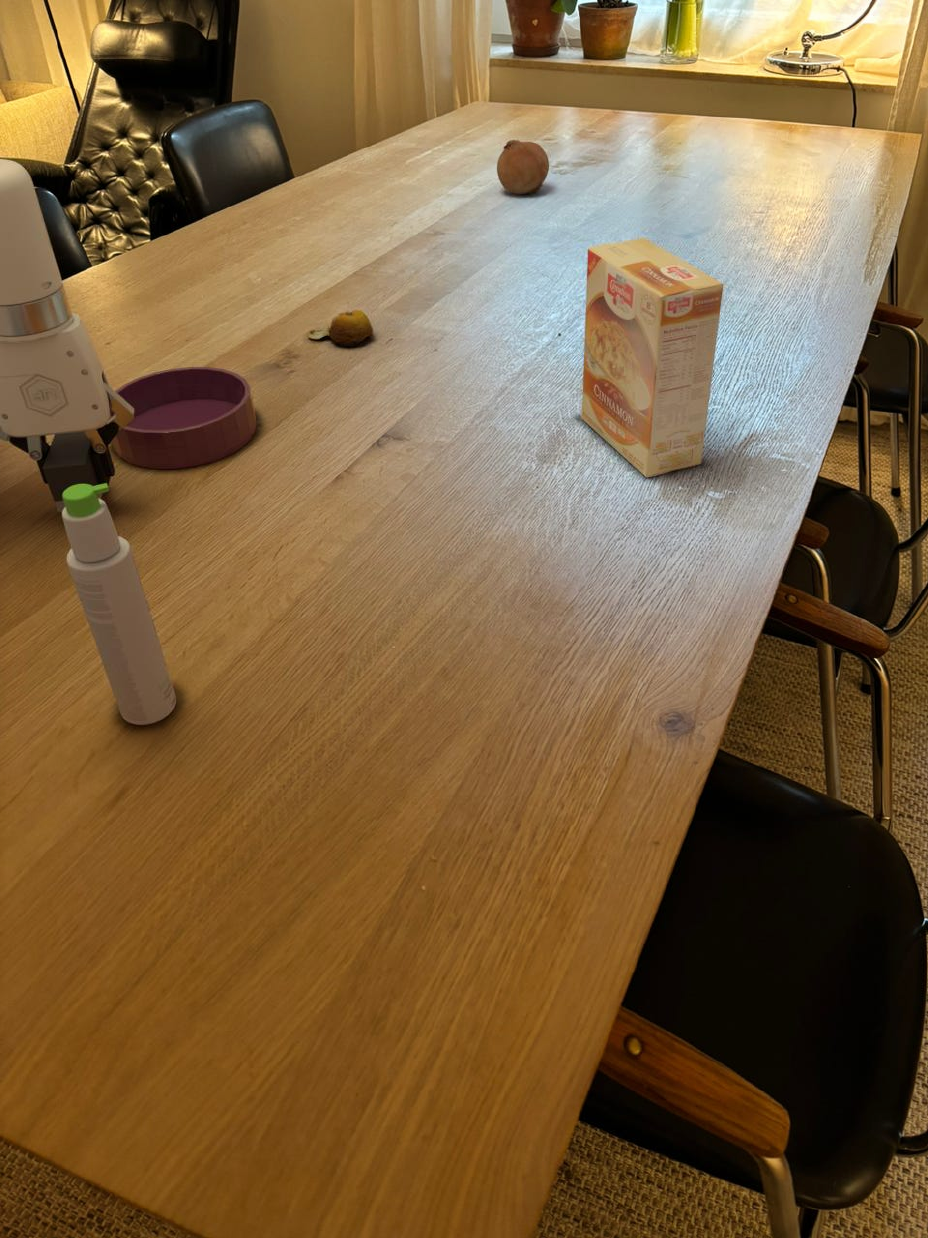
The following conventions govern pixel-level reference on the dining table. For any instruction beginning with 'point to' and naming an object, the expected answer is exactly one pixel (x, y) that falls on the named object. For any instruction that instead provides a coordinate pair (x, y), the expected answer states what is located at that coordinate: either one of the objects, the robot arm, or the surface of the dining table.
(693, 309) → the coffeecake box
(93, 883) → the dining table surface
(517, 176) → the onion
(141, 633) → the bottle
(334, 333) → the fruit
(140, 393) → the bowl
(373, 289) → the dining table surface
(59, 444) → the eraser
